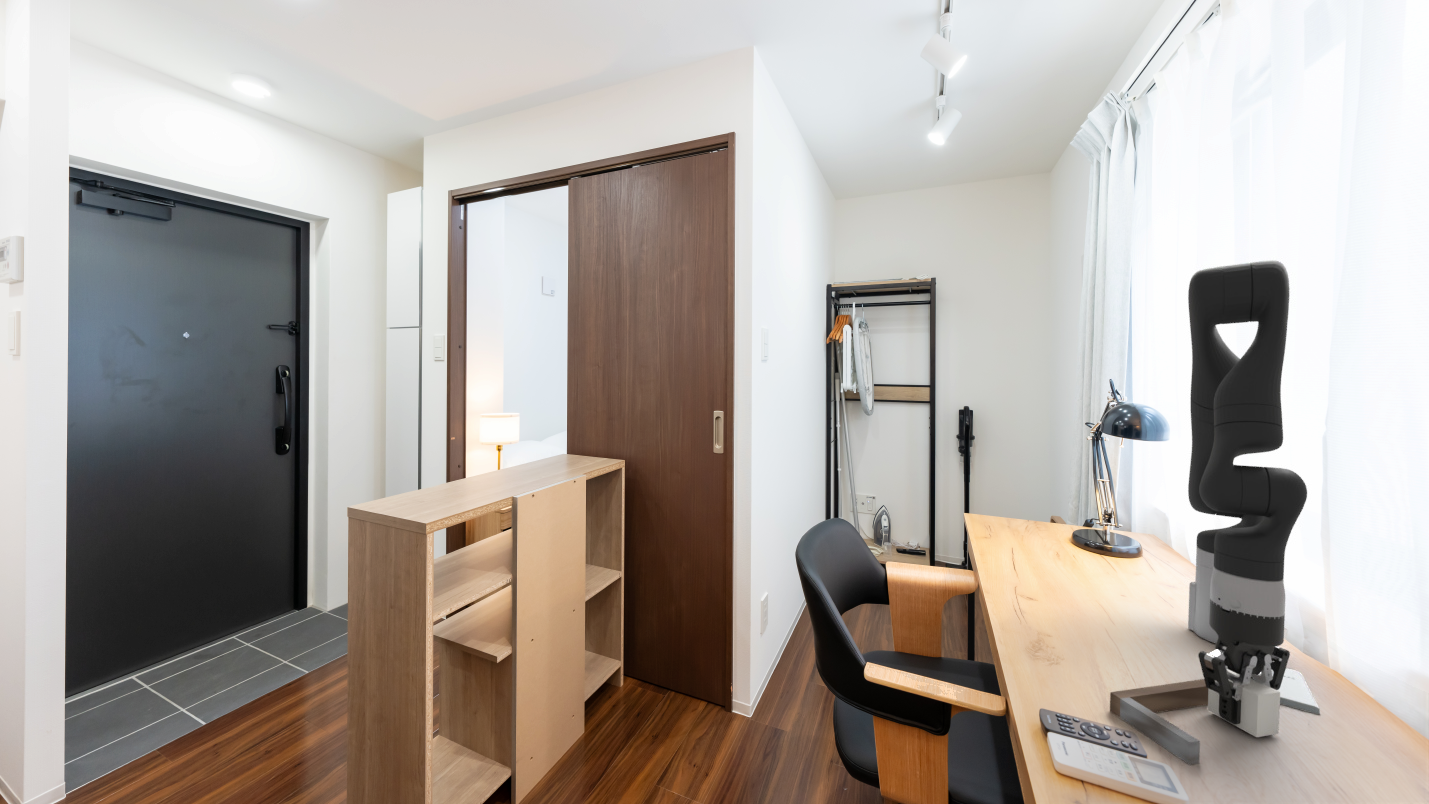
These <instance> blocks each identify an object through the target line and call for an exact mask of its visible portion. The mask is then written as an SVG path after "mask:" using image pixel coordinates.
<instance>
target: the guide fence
mask: <svg viewBox="0 0 1429 804" xmlns="http://www.w3.org/2000/svg"><path fill="white" fill-rule="evenodd" d="M1109 695H1110V696H1109V712H1110V713H1111V714H1113V715H1115V716H1116V717H1117V718H1119V719H1121V720H1122V721H1123V722H1125V723H1126V724H1128V725H1129V726H1131V727H1133V728H1134V729H1135V730H1136V731H1138V732H1140V733H1141V734H1143V735H1144V736H1146V737H1147V738H1149V739H1150V740H1151V741H1153V742H1155V743H1156V744H1158V745H1159V744H1160V745H1159V746H1161V745H1162V746H1163V747H1162V746H1161V747H1162V748H1163V749H1165V748H1166V749H1165V750H1166V751H1168V752H1169V753H1171V754H1173V755H1174V756H1175V757H1177V758H1179V759H1180V760H1182V761H1183V762H1185V763H1186V764H1188V765H1196V764H1200V749H1201V747H1200V746H1201V741H1200V740H1199V739H1197V737H1195V736H1193V735H1192V734H1189V733H1188V732H1186V731H1185V730H1183V729H1181V728H1180V727H1178V726H1176V725H1175V724H1174V723H1172V722H1170V721H1169V720H1167V719H1165V718H1164V717H1162V716H1161V715H1159V714H1157V713H1162V712H1168V711H1174V710H1181V709H1188V708H1195V707H1200V706H1201V707H1202V706H1208V688H1207V687H1206V684H1205V680H1204V678H1200V679H1193V680H1189V681H1188V680H1187V681H1186V680H1185V681H1180V682H1175V683H1174V682H1173V683H1165V684H1159V685H1151V686H1145V687H1144V686H1143V687H1137V688H1131V689H1124V690H1123V689H1122V690H1116V691H1110V692H1109Z"/></svg>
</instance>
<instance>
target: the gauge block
mask: <svg viewBox="0 0 1429 804" xmlns="http://www.w3.org/2000/svg"><path fill="white" fill-rule="evenodd" d="M1227 671H1228V672H1230V673H1232V674H1234V675H1236V676H1238V677H1239V676H1240V675H1239V674H1237V673H1235V672H1233V671H1231V670H1229V669H1227ZM1228 680H1229V679H1228ZM1215 682H1217V681H1216V680H1215ZM1229 684H1230V688H1231V689H1232V688H1233V684H1234V683H1233V681H1231V680H1229ZM1240 700H1241V721H1240V724H1232V723H1230V724H1232V725H1233V726H1234V727H1237V728H1239V729H1240V730H1243V731H1244V732H1246V733H1248V734H1250V735H1252V736H1253V737H1255V738H1261V737H1265V736H1266V737H1267V736H1272V735H1278V734H1280V732H1279V731H1280V710H1281V709H1280V708H1281V706H1280V705H1281V704H1280V692H1279V691H1277V690H1275V689H1273V688H1271V687H1269V686H1266V685H1263V684H1260V683H1259V682H1258V681H1256V680H1254V679H1251V678H1250V682H1249V685H1248V686H1244V687H1243V691H1242V695H1241V699H1240ZM1207 711H1208V712H1210V713H1211V714H1213V715H1216V716H1217V717H1219V718H1220V719H1223V718H1222V717H1221V716H1220V715H1219V693H1217V692H1215V691H1213V690H1211V689H1209V688H1208V705H1207ZM1223 720H1224V721H1226V722H1228V721H1227V720H1225V719H1223Z"/></svg>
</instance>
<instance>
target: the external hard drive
mask: <svg viewBox="0 0 1429 804" xmlns="http://www.w3.org/2000/svg"><path fill="white" fill-rule="evenodd" d="M1271 671H1272V677H1273V673H1274V672H1273V670H1271ZM1277 691H1279V692H1280V705H1282V706H1287V707H1290V708H1294V709H1298V710H1302V711H1305V712H1308V713H1312V714H1316V715H1320V714H1321V713H1320V711H1321V710H1320V707H1319V705H1318V703H1317V701H1316V699H1315V697H1314V695H1313V693H1312V691H1311V689H1310V687H1309V686H1308V684H1307V682H1306V679H1305V677H1304V675H1303V674H1302V672H1301V671H1298V670H1295V669H1291V668H1288V667H1286V669H1285V673H1284V676H1283V680H1282V683H1281V686H1280V688H1279V689H1278V690H1277Z"/></svg>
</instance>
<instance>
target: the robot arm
mask: <svg viewBox="0 0 1429 804" xmlns="http://www.w3.org/2000/svg"><path fill="white" fill-rule="evenodd" d="M1289 278H1290V277H1289V274H1288V271H1287V267H1286V266H1285V265H1284V264H1283V263H1282V262H1281V261H1279V260H1262V261H1254V262H1253V261H1252V262H1246V263H1237V264H1230V265H1223V266H1215V267H1214V266H1213V267H1208V268H1203V269H1199V270H1197V271H1196V272H1195V273H1194V274H1192V276H1191V278H1190V281H1189V285H1188V293H1187V295H1188V296H1187V298H1188V299H1187V300H1188V301H1187V302H1188V314H1189V317H1188V318H1189V327H1190V328H1189V329H1190V338H1191V340H1190V341H1191V352H1192V353H1191V357H1192V359H1191V361H1192V362H1191V384H1190V422H1191V423H1190V424H1191V425H1190V426H1191V453H1190V454H1191V456H1190V466H1189V473H1188V474H1189V476H1188V485H1187V486H1188V487H1187V488H1188V490H1187V491H1188V500H1189V501H1188V502H1189V503H1190V504H1189V505H1190V506H1191V507H1192V509H1194V511H1196V512H1199V513H1202V514H1207V515H1212V516H1215V515H1216V516H1221V517H1228V518H1236V519H1241V521H1240V522H1238V523H1236V524H1234V525H1232V526H1228V527H1223V528H1216V529H1214V528H1213V529H1206V530H1202V531H1200V532H1198V534H1197V535H1196V554H1195V555H1196V559H1195V579H1194V580H1195V581H1191V582H1190V583H1189V590H1188V615H1187V616H1188V618H1187V619H1188V620H1187V628H1188V629H1189V630H1191V631H1192V632H1194V634H1196V635H1197V636H1198V637H1200V638H1202V639H1203V640H1206V641H1208V642H1210V643H1213V644H1215V645H1214V650H1213V651H1211V652H1209V653H1208V652H1206V651H1204V650H1200V651H1199V653H1198V656H1197V657H1198V660H1199V665H1200V668H1201V672H1202V677H1203V679H1204V680H1205V684H1206V687H1207V688H1209V689H1211V690H1213V691H1215V692H1217V693H1219V715H1220V716H1221V717H1222V718H1223V720H1224V719H1225V720H1224V721H1226V720H1227V721H1226V722H1228V723H1230V724H1231V723H1232V725H1233V724H1240V721H1241V700H1240V699H1241V695H1242V691H1243V687H1244V686H1248V685H1249V682H1250V678H1251V679H1254V680H1256V681H1258V682H1259V683H1260V684H1263V685H1266V686H1269V687H1271V688H1273V689H1275V690H1278V689H1279V688H1280V686H1281V683H1282V680H1283V676H1284V673H1285V669H1286V668H1287V665H1288V661H1289V658H1290V655H1291V652H1290V651H1289V650H1287V649H1285V648H1282V647H1280V646H1282V645H1283V644H1284V642H1285V638H1284V637H1285V617H1286V616H1285V615H1286V590H1285V582H1284V576H1285V575H1284V573H1285V572H1284V571H1285V555H1286V549H1287V545H1288V541H1289V539H1290V535H1291V533H1292V530H1293V529H1294V526H1295V525H1296V522H1297V520H1298V518H1299V517H1300V515H1301V513H1302V511H1303V509H1304V507H1305V504H1306V502H1307V499H1308V488H1307V485H1306V483H1305V481H1304V480H1303V479H1302V477H1301V476H1300V475H1299V474H1298V473H1297V472H1295V471H1293V470H1291V469H1288V468H1283V467H1272V466H1271V467H1268V466H1255V465H1239V464H1234V460H1235V458H1238V457H1239V456H1243V455H1250V454H1251V455H1252V454H1259V453H1260V454H1261V453H1262V454H1263V453H1267V452H1268V453H1269V452H1272V451H1275V450H1278V449H1280V448H1281V447H1282V446H1283V442H1284V441H1283V440H1284V428H1283V427H1284V426H1283V413H1282V400H1281V397H1282V393H1281V391H1282V390H1281V389H1282V388H1281V386H1282V373H1283V366H1284V360H1285V351H1286V345H1287V343H1286V342H1287V335H1288V334H1287V333H1288V321H1289V311H1290V310H1289V308H1290V279H1289ZM1249 322H1250V323H1253V322H1258V323H1257V330H1256V334H1255V335H1254V336H1255V337H1254V339H1253V341H1252V342H1251V345H1250V346H1249V347H1248V349H1247V350H1246V351H1245V353H1244V354H1243V355H1242V356H1241V358H1240V357H1239V356H1238V355H1236V354H1235V352H1233V351H1232V350H1231V349H1230V348H1229V346H1228V345H1227V344H1226V342H1224V340H1223V338H1222V337H1221V334H1220V333H1219V331H1218V328H1217V325H1228V324H1240V323H1249ZM1227 669H1229V670H1231V671H1233V672H1235V673H1237V674H1239V675H1240V676H1239V677H1238V676H1236V675H1234V674H1232V673H1230V672H1228V671H1227ZM1271 670H1273V672H1274V673H1273V677H1272V671H1271ZM1228 679H1229V680H1231V681H1233V683H1234V684H1233V688H1232V689H1231V688H1230V684H1229V680H1228ZM1215 680H1216V681H1217V682H1215ZM1221 717H1220V718H1221ZM1222 718H1221V719H1222Z"/></svg>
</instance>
